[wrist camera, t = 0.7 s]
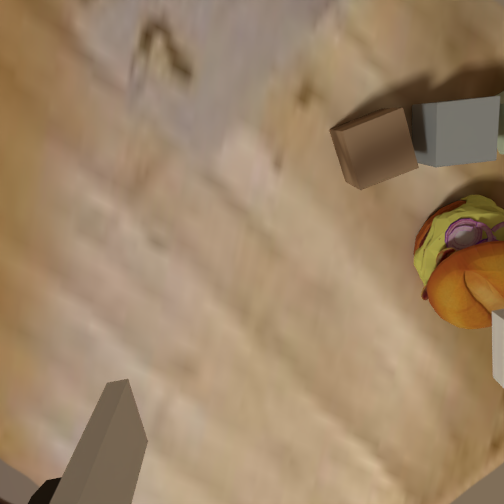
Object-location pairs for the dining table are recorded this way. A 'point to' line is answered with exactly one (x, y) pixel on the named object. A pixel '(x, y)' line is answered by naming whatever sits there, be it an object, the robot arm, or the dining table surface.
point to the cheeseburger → (463, 261)
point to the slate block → (456, 131)
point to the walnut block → (374, 147)
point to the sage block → (501, 125)
